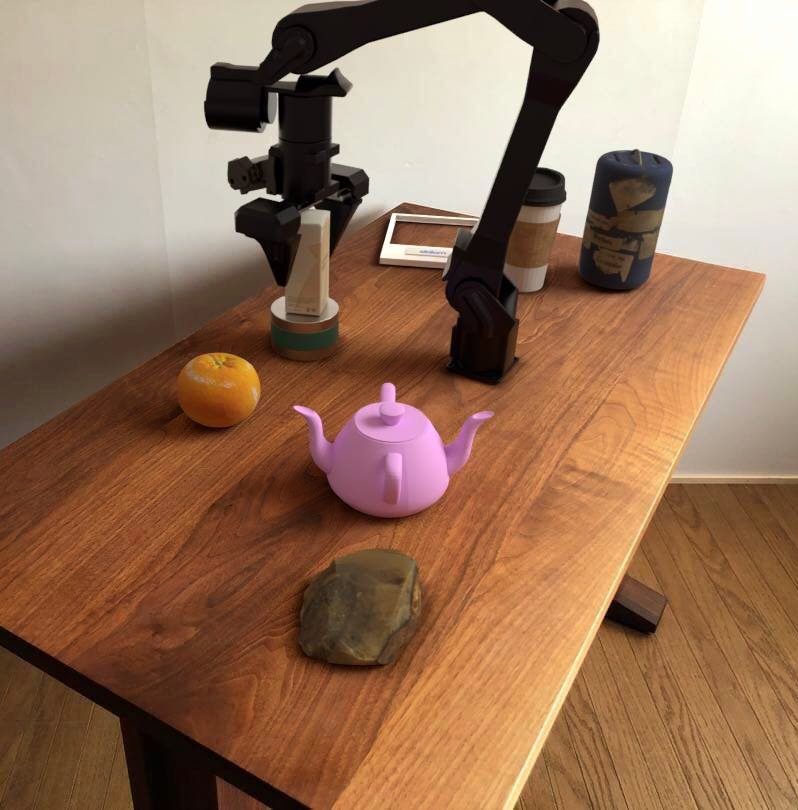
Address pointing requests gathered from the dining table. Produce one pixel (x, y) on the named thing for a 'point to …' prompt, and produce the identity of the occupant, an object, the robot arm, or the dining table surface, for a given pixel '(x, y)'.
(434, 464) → the teapot
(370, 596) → the decorative stone
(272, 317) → the tin can
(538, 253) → the coffee cup
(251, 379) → the fruit
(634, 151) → the canister
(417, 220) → the photo frame
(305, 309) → the box
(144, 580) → the dining table surface
